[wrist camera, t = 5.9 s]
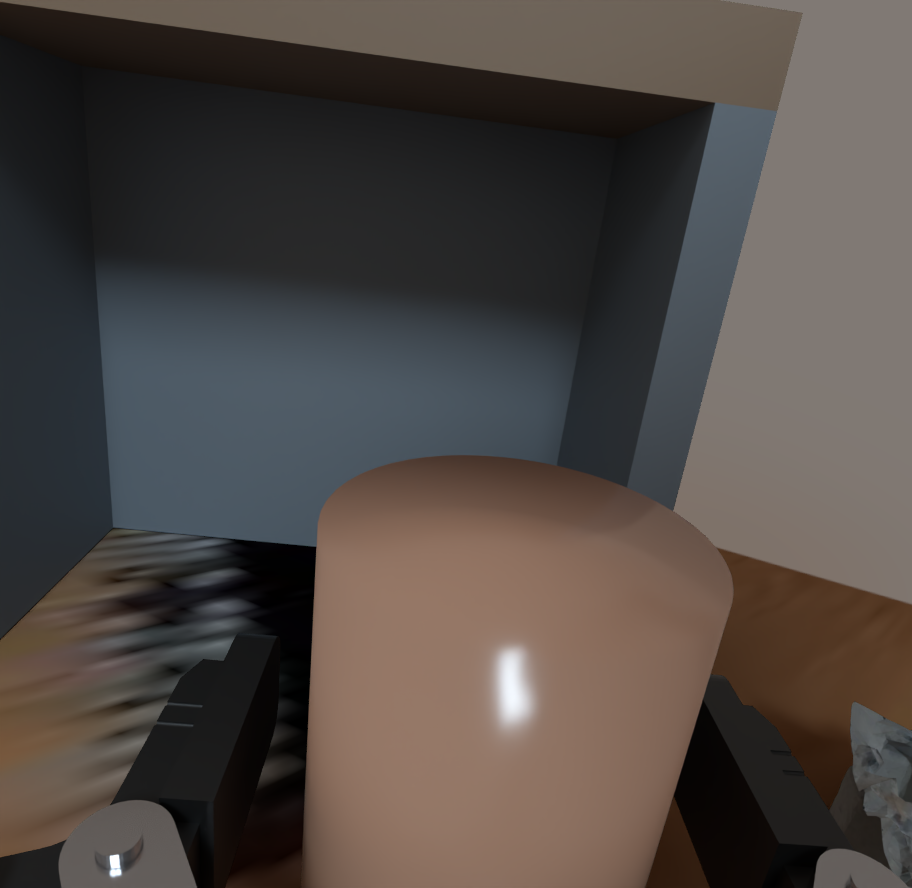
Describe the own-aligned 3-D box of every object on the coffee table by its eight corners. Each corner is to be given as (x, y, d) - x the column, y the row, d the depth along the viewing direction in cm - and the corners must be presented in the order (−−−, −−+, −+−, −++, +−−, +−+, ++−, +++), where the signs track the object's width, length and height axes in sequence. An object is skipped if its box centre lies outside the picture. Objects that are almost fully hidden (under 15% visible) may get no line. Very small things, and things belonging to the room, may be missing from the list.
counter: (565, 559, 31) (661, 87, 24) (620, 714, 21) (802, 12, 15) (89, 514, 30) (47, 0, 23) (-75, 658, 20) (-231, -144, 13)
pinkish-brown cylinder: (554, 899, 15) (656, 472, 12) (609, 1250, 10) (825, 684, 6) (321, 884, 15) (348, 441, 11) (257, 1237, 10) (268, 637, 6)
